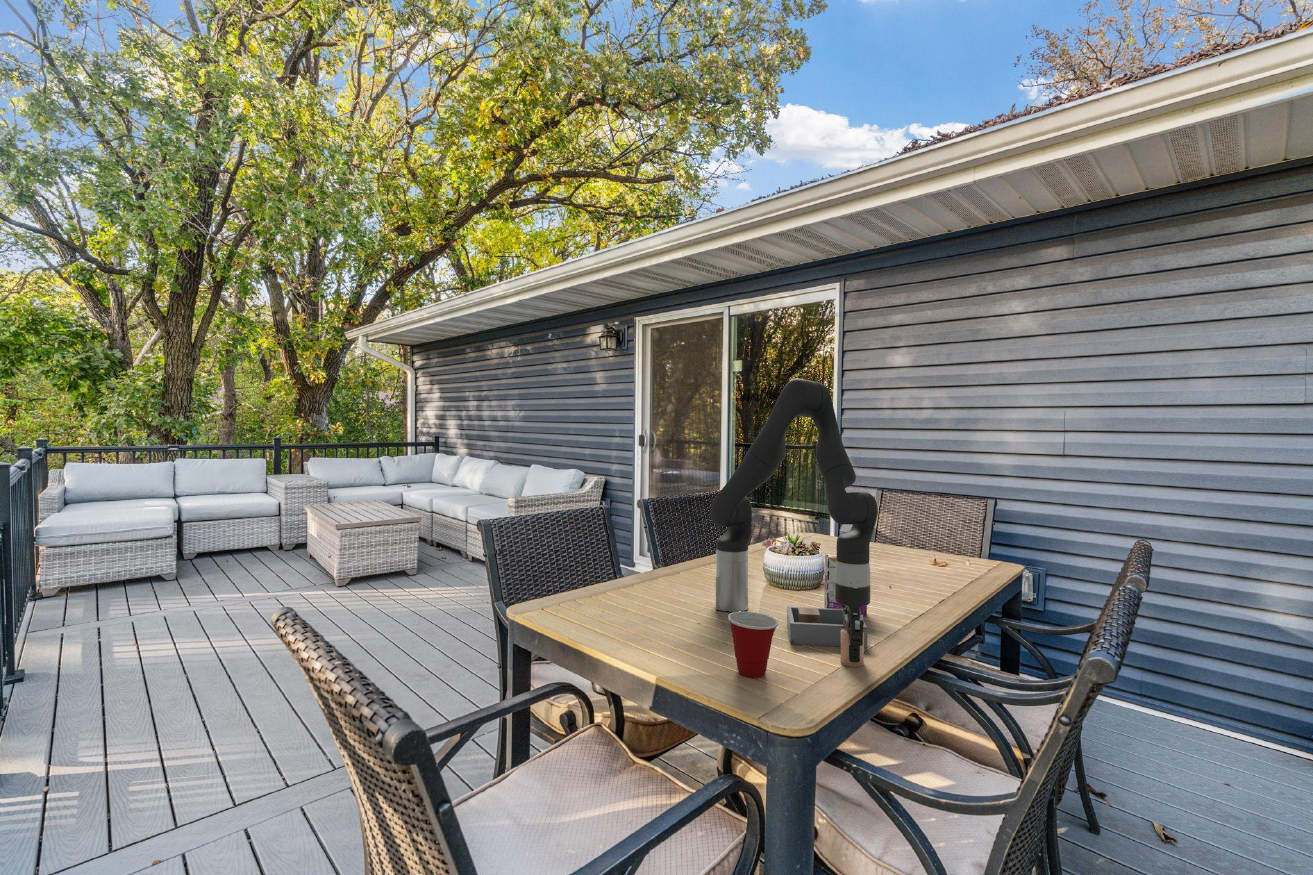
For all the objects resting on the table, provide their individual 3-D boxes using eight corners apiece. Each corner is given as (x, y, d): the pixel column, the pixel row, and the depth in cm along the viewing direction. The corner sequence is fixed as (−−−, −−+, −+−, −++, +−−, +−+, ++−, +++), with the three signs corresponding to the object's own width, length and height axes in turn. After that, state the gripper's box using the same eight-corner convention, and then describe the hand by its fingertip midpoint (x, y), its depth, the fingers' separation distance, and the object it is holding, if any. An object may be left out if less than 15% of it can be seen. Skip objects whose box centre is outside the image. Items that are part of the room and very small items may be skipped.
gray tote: (790, 643, 147) (790, 623, 147) (786, 625, 161) (787, 606, 161) (867, 647, 144) (867, 627, 144) (857, 628, 158) (857, 609, 158)
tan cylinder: (842, 666, 133) (842, 635, 133) (838, 657, 138) (839, 627, 138) (865, 667, 132) (866, 636, 132) (861, 659, 137) (861, 628, 137)
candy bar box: (827, 615, 169) (827, 557, 169) (823, 610, 174) (824, 553, 174) (868, 616, 168) (868, 558, 168) (863, 611, 173) (864, 554, 173)
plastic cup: (784, 682, 125) (784, 624, 124) (733, 684, 124) (733, 626, 124) (770, 662, 136) (770, 609, 135) (723, 663, 135) (723, 610, 134)
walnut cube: (799, 633, 151) (799, 613, 151) (798, 627, 156) (798, 608, 156) (819, 634, 150) (820, 614, 150) (817, 628, 155) (818, 609, 155)
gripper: (831, 573, 142) (830, 644, 143) (839, 589, 128) (839, 668, 129) (864, 574, 141) (863, 646, 142) (876, 590, 127) (876, 670, 127)
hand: (852, 656), depth 135 cm, fingers closed on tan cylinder, 5 cm apart
